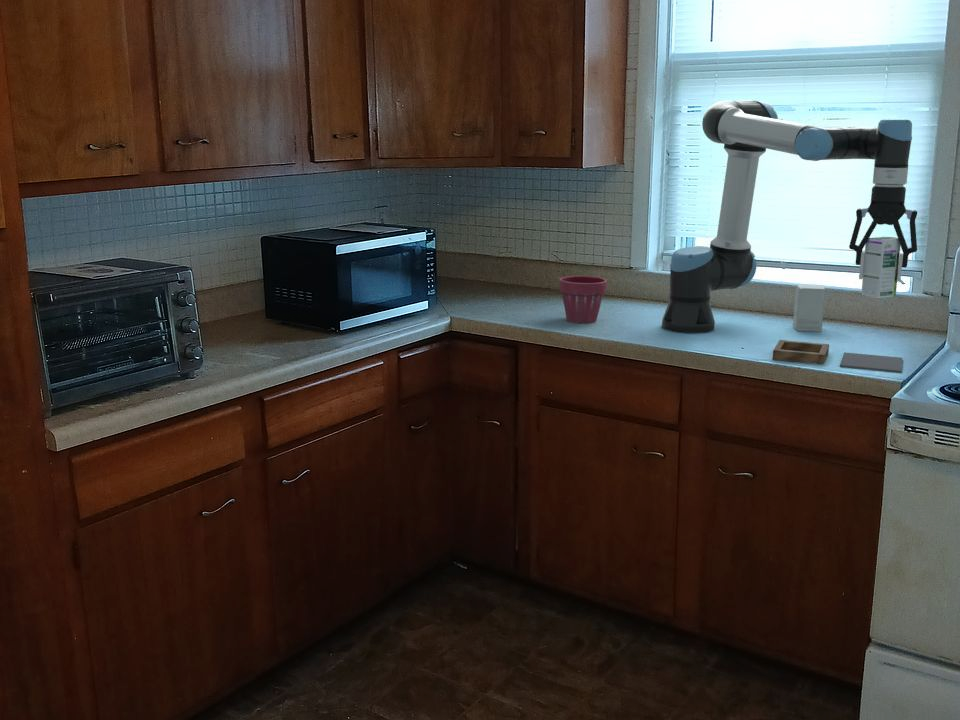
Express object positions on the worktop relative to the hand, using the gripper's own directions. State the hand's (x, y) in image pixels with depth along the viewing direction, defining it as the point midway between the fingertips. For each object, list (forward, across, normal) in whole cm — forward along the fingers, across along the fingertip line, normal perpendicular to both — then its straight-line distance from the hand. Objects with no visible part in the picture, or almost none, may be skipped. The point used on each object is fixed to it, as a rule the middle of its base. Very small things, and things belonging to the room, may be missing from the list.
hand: (879, 279), depth 232 cm
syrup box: (+4, 0, 0) cm, 4 cm away
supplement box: (+22, -19, +35) cm, 45 cm away
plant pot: (+21, -83, +20) cm, 88 cm away
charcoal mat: (+21, 0, 0) cm, 21 cm away
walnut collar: (+21, -17, 0) cm, 27 cm away
